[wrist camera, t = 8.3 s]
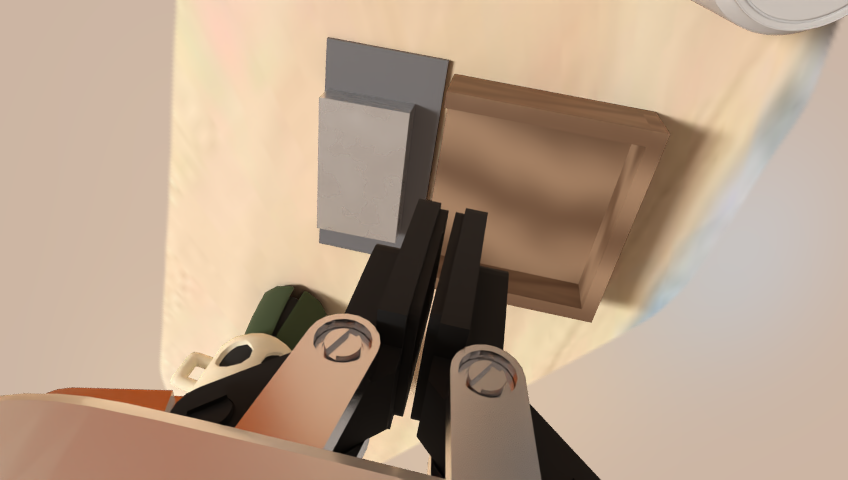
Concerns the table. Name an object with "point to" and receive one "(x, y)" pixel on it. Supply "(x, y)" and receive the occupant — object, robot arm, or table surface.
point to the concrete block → (362, 163)
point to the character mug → (256, 338)
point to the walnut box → (546, 186)
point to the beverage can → (778, 14)
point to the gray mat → (401, 82)
